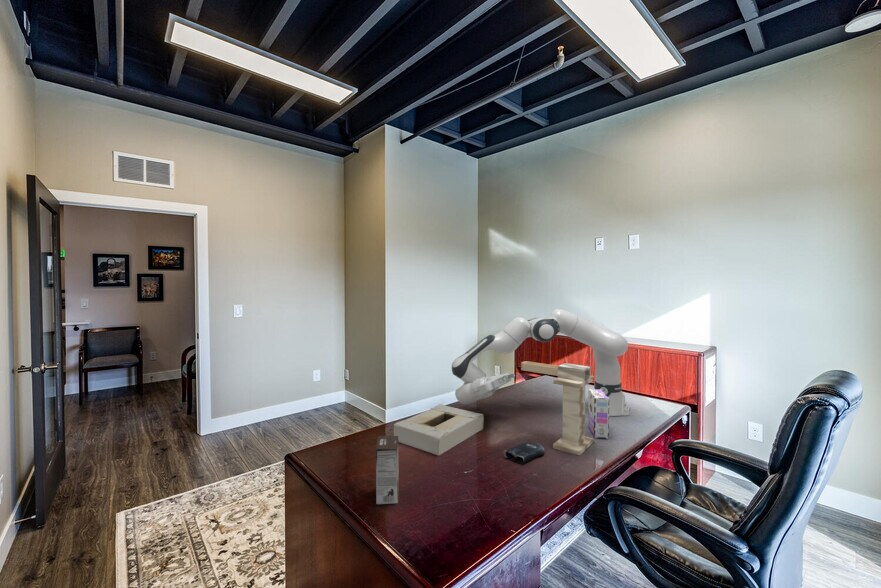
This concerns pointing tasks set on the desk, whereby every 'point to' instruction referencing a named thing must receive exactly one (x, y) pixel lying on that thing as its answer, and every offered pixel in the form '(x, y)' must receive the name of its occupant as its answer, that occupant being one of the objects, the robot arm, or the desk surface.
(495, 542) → the desk surface
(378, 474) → the coffee box
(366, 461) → the desk surface
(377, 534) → the desk surface
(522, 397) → the desk surface
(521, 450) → the electronic device
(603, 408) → the candy box
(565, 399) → the stand
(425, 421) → the box
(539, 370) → the tray
